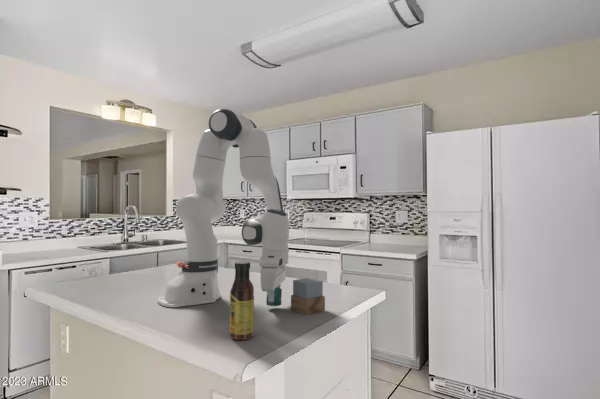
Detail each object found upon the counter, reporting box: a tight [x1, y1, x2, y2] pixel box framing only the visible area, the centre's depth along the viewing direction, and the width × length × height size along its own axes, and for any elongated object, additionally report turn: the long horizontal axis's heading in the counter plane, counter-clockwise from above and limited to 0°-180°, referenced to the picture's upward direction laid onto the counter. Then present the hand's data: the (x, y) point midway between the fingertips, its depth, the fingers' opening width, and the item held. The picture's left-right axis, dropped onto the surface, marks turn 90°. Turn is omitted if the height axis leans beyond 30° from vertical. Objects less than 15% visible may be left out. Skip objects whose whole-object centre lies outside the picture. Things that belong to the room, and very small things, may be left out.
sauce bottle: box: [229, 260, 255, 341], centre depth 94 cm, size 7×6×20 cm
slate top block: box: [292, 277, 324, 299], centre depth 119 cm, size 7×7×5 cm
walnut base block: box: [290, 294, 326, 316], centre depth 119 cm, size 8×8×5 cm
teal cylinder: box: [265, 287, 282, 307], centre depth 120 cm, size 5×5×5 cm
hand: (274, 299), depth 120 cm, fingers closed on teal cylinder, 5 cm apart
